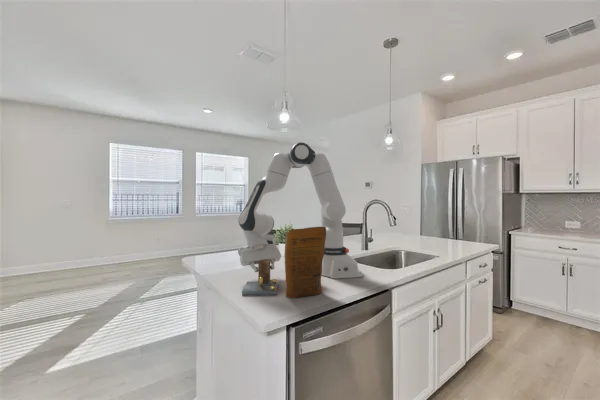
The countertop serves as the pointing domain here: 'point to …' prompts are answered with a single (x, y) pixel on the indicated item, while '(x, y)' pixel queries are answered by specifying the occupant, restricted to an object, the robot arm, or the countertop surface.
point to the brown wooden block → (264, 270)
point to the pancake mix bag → (304, 261)
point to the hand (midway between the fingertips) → (264, 270)
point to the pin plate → (260, 288)
